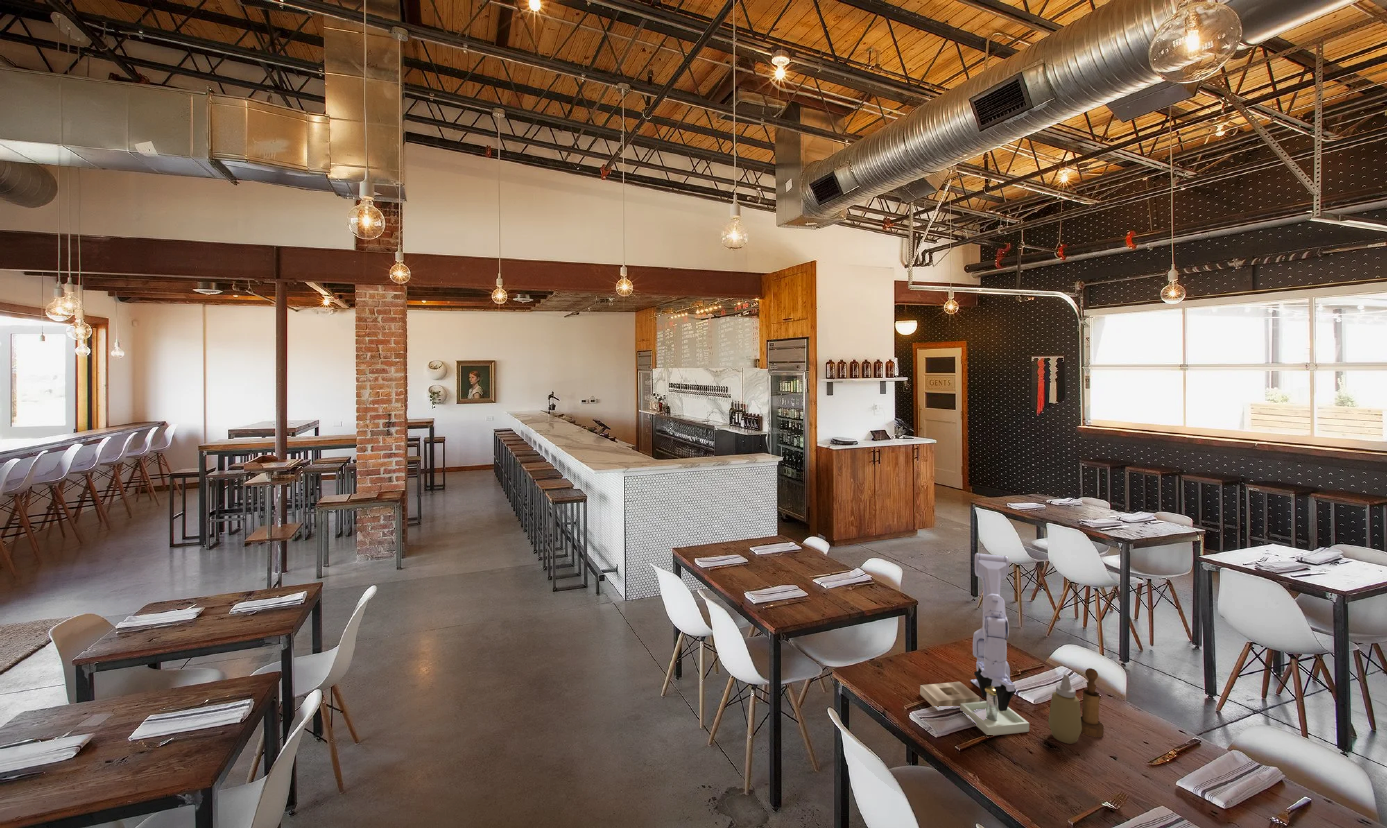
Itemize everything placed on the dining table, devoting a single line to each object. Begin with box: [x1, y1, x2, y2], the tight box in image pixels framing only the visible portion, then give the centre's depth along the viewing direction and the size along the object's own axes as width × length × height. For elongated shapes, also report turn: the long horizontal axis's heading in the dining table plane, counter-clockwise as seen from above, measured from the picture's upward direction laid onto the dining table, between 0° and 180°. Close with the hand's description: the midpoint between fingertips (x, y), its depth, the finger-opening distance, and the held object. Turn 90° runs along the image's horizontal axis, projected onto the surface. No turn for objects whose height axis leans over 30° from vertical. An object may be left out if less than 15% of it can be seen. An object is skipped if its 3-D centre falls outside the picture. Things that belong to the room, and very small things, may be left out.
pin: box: [985, 686, 998, 721], centre depth 178 cm, size 4×4×9 cm
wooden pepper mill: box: [1081, 667, 1105, 738], centre depth 172 cm, size 7×6×18 cm
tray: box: [959, 700, 1030, 736], centre depth 177 cm, size 13×13×2 cm
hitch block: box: [919, 681, 981, 707], centre depth 189 cm, size 14×10×3 cm
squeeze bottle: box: [1047, 674, 1082, 745], centre depth 169 cm, size 8×8×18 cm
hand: (994, 703), depth 177 cm, fingers open, 7 cm apart
